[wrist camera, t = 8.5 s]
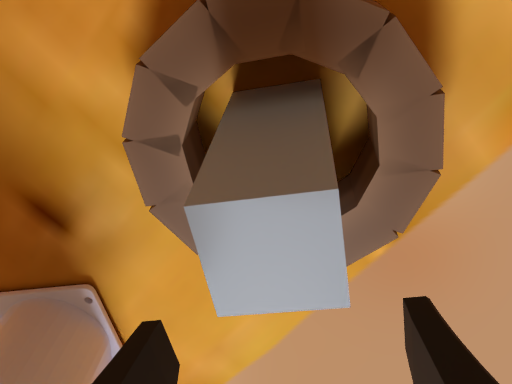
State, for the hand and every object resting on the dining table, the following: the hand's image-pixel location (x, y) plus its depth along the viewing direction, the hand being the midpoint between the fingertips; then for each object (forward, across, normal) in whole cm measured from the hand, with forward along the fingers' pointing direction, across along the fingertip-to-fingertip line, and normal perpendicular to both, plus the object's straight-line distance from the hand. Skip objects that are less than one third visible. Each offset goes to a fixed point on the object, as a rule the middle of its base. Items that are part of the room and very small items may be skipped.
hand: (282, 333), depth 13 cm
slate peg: (+10, 0, -2) cm, 11 cm away
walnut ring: (+10, 0, -2) cm, 11 cm away
